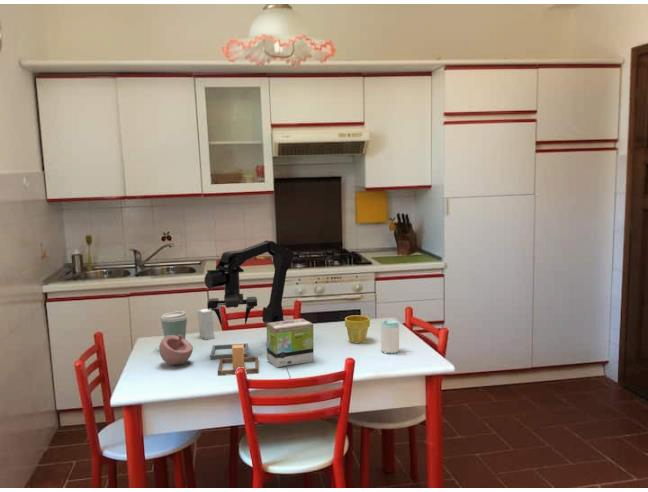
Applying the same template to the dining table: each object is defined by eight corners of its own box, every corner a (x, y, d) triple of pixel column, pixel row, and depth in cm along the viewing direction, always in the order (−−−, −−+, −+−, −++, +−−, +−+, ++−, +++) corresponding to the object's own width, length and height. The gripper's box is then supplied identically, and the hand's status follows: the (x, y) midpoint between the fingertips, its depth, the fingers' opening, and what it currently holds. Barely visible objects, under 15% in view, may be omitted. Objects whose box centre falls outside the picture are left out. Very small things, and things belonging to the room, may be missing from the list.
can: (386, 355, 221) (386, 324, 219) (377, 350, 227) (377, 320, 226) (402, 352, 223) (402, 322, 222) (393, 347, 230) (393, 318, 228)
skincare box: (214, 338, 249) (213, 310, 247) (205, 340, 246) (204, 312, 244) (207, 335, 253) (206, 308, 252) (198, 337, 250) (197, 309, 249)
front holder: (258, 360, 217) (257, 356, 217) (258, 372, 204) (258, 368, 203) (220, 362, 216) (220, 358, 216) (217, 375, 202) (217, 371, 202)
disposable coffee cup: (162, 354, 227) (160, 317, 225) (161, 347, 237) (159, 311, 235) (190, 351, 230) (188, 314, 228) (187, 344, 240) (185, 308, 238)
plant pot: (374, 339, 241) (374, 316, 240) (362, 346, 233) (362, 322, 232) (352, 336, 247) (352, 314, 246) (340, 342, 238) (340, 319, 237)
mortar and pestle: (182, 370, 208) (181, 339, 206) (153, 368, 211) (151, 337, 210) (199, 360, 219) (197, 330, 218) (171, 358, 223) (169, 329, 221)
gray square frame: (248, 346, 235) (247, 343, 235) (247, 357, 221) (247, 353, 221) (213, 348, 233) (212, 345, 233) (210, 359, 219) (210, 355, 219)
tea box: (277, 368, 208) (275, 328, 206) (266, 361, 217) (265, 322, 215) (314, 361, 215) (313, 322, 213) (303, 354, 224) (302, 317, 222)
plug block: (244, 365, 212) (243, 344, 211) (244, 369, 208) (243, 347, 207) (233, 366, 212) (232, 344, 211) (232, 369, 208) (232, 348, 207)
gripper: (205, 289, 213) (207, 331, 215) (256, 287, 215) (257, 328, 217) (207, 284, 224) (209, 323, 226) (256, 282, 226) (257, 321, 228)
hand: (233, 324), depth 224 cm, fingers open, 9 cm apart
